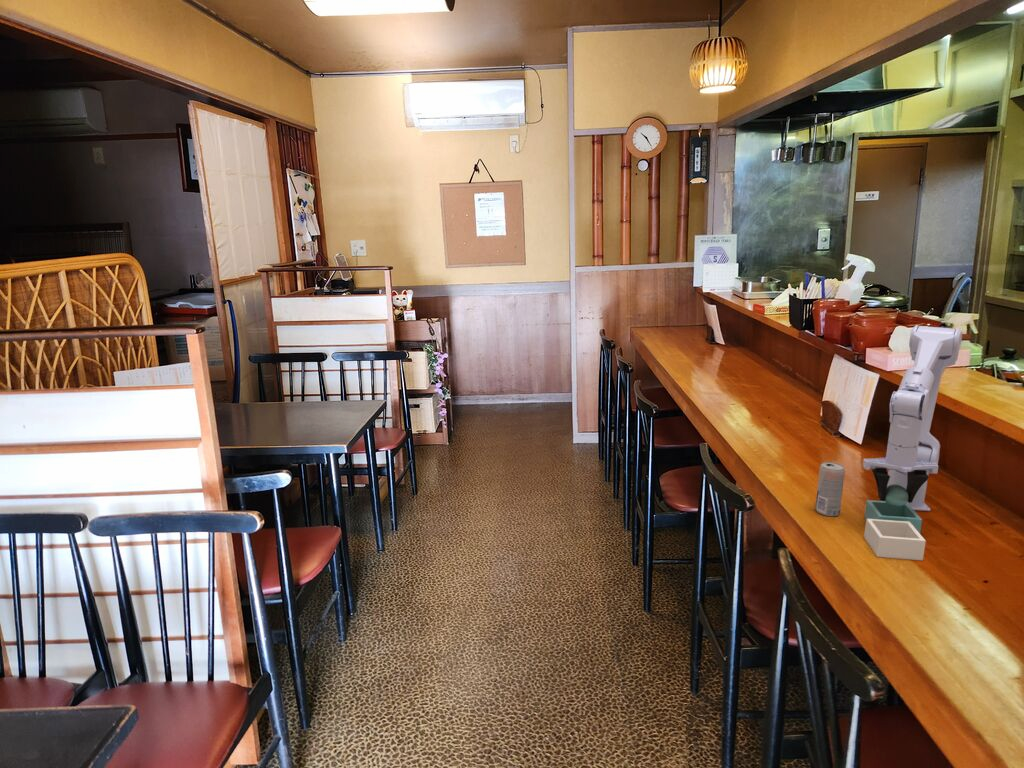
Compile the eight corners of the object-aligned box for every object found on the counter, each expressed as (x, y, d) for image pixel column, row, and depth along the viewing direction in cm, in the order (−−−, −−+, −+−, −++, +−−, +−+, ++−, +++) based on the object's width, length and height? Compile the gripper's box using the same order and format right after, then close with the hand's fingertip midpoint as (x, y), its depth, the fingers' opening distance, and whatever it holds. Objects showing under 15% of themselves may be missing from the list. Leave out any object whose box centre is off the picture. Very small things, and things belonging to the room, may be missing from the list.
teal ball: (878, 500, 145) (881, 480, 143) (902, 501, 144) (905, 481, 142) (885, 509, 140) (888, 489, 139) (910, 511, 139) (913, 490, 138)
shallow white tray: (864, 536, 139) (866, 518, 138) (906, 540, 137) (909, 521, 136) (877, 556, 131) (879, 537, 130) (922, 560, 129) (925, 540, 128)
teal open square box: (864, 517, 148) (866, 500, 147) (904, 520, 146) (907, 502, 145) (876, 534, 140) (879, 516, 139) (919, 538, 138) (922, 519, 137)
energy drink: (832, 506, 154) (837, 461, 151) (844, 516, 149) (850, 469, 146) (810, 507, 154) (815, 462, 151) (822, 517, 149) (827, 470, 146)
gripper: (873, 447, 136) (865, 505, 139) (948, 451, 133) (938, 510, 136) (862, 437, 142) (855, 492, 146) (933, 440, 139) (925, 496, 143)
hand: (894, 499), depth 141 cm, fingers closed on teal ball, 5 cm apart
